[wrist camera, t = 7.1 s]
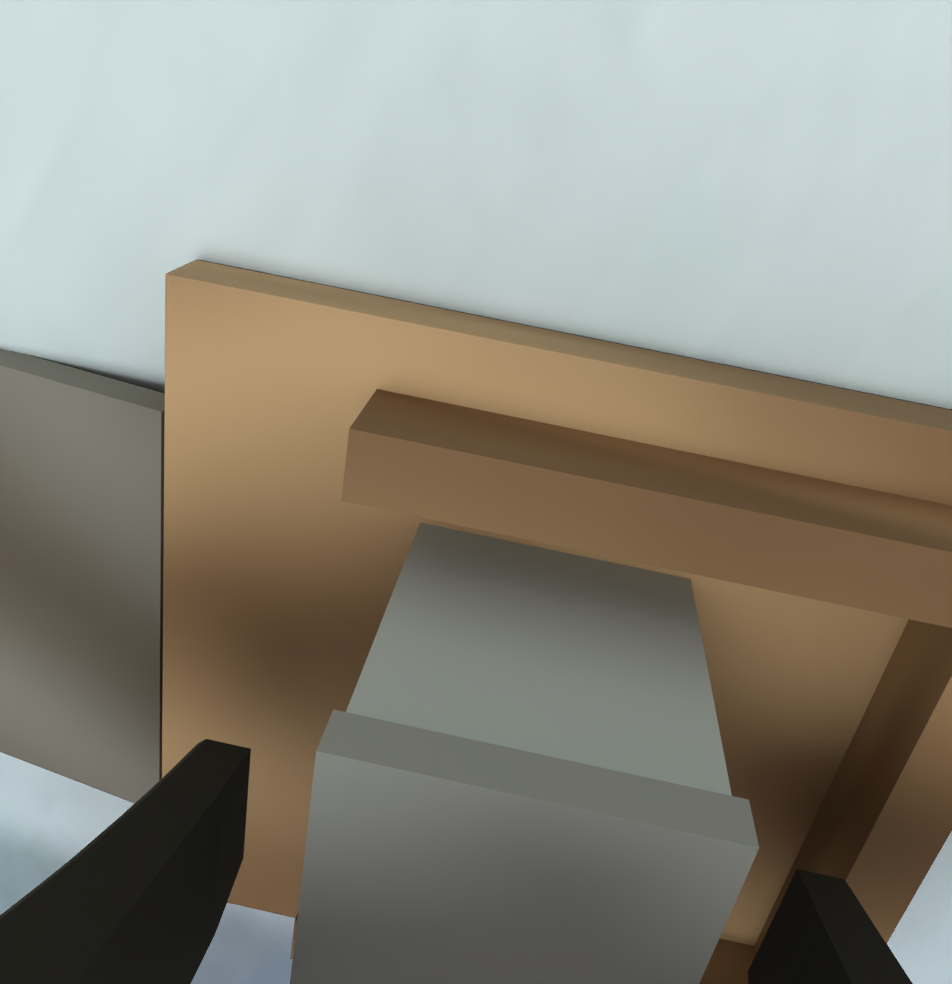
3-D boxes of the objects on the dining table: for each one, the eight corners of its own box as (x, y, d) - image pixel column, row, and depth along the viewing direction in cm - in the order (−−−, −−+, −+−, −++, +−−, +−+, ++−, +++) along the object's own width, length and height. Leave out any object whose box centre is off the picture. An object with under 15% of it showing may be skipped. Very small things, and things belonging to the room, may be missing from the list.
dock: (759, 950, 18) (790, 1111, 15) (-80, 762, 19) (-199, 883, 16) (1018, 412, 13) (1137, 508, 10) (-173, 175, 13) (-376, 202, 10)
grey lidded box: (606, 853, 15) (611, 1181, 11) (370, 800, 15) (276, 1102, 11) (700, 571, 12) (759, 848, 8) (414, 511, 13) (316, 750, 8)
